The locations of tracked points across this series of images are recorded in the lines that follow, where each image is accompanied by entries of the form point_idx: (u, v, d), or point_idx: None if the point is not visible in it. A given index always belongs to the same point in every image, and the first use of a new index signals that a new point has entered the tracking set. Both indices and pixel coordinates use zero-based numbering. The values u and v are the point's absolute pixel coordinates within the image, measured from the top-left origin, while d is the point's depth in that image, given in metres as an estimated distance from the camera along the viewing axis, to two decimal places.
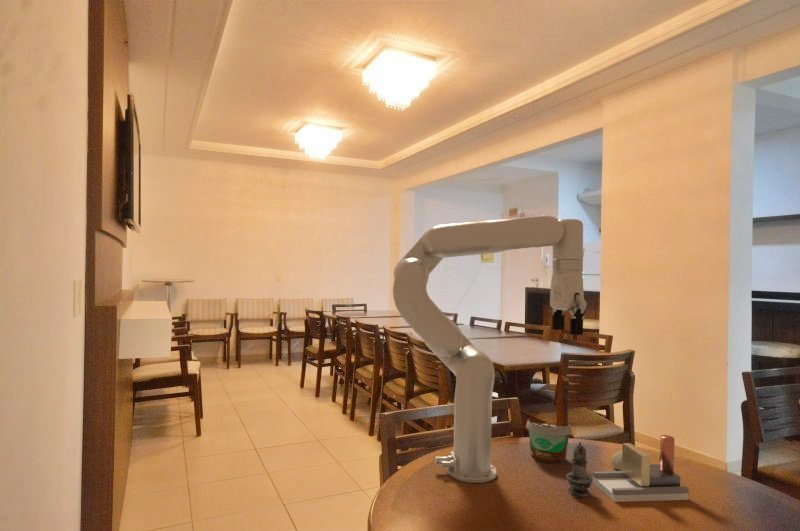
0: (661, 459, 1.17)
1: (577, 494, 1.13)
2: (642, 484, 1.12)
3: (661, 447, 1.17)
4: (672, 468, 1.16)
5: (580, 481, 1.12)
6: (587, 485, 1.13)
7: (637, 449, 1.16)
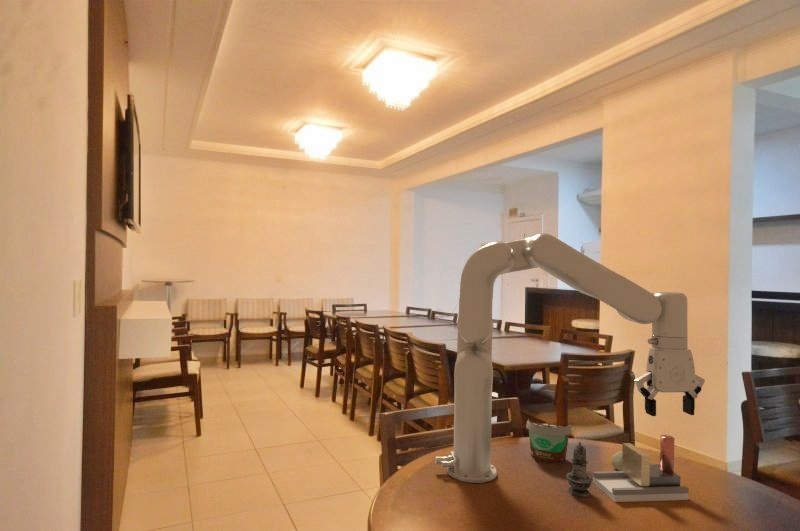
0: (661, 459, 1.17)
1: (577, 494, 1.13)
2: (642, 484, 1.12)
3: (661, 447, 1.17)
4: (672, 468, 1.16)
5: (580, 481, 1.12)
6: (587, 485, 1.13)
7: (637, 449, 1.16)
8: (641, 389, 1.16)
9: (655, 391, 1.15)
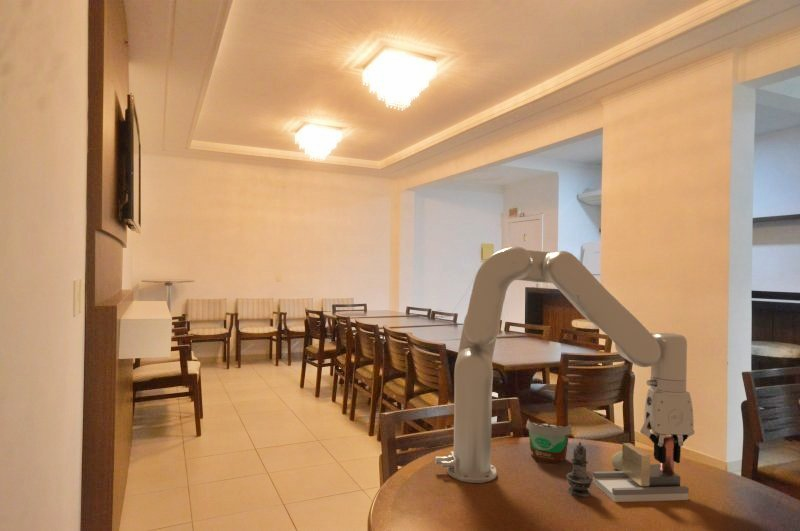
0: None
1: (577, 494, 1.13)
2: (642, 484, 1.12)
3: None
4: (672, 468, 1.16)
5: (580, 481, 1.12)
6: (587, 485, 1.13)
7: (637, 449, 1.16)
8: (650, 437, 1.16)
9: (661, 437, 1.16)
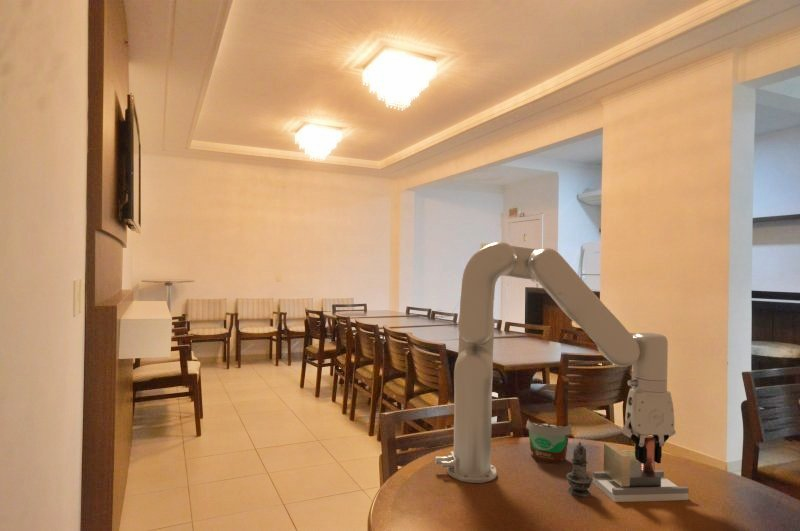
0: None
1: (577, 494, 1.13)
2: (622, 484, 1.12)
3: None
4: (653, 468, 1.15)
5: (580, 481, 1.12)
6: (587, 485, 1.13)
7: (618, 450, 1.15)
8: (631, 437, 1.16)
9: (642, 437, 1.15)
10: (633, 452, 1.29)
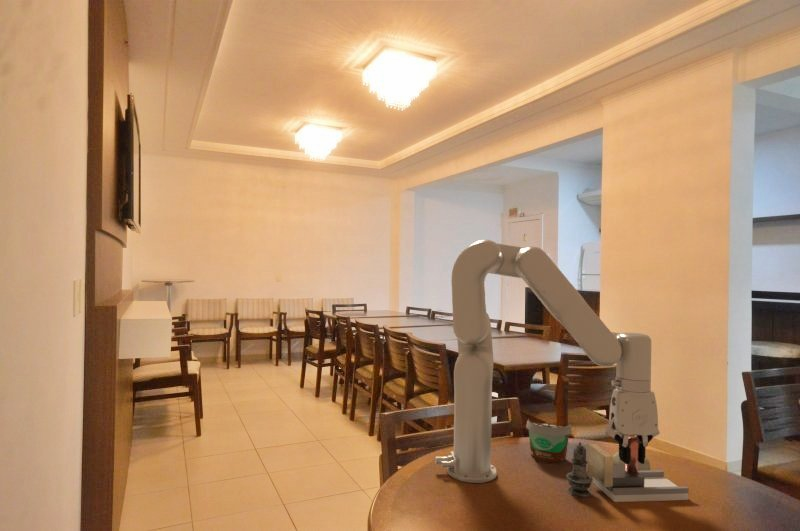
0: None
1: (577, 494, 1.13)
2: (605, 485, 1.11)
3: None
4: (637, 469, 1.15)
5: (580, 481, 1.12)
6: (587, 485, 1.13)
7: (601, 450, 1.15)
8: (615, 438, 1.15)
9: (625, 437, 1.15)
10: None
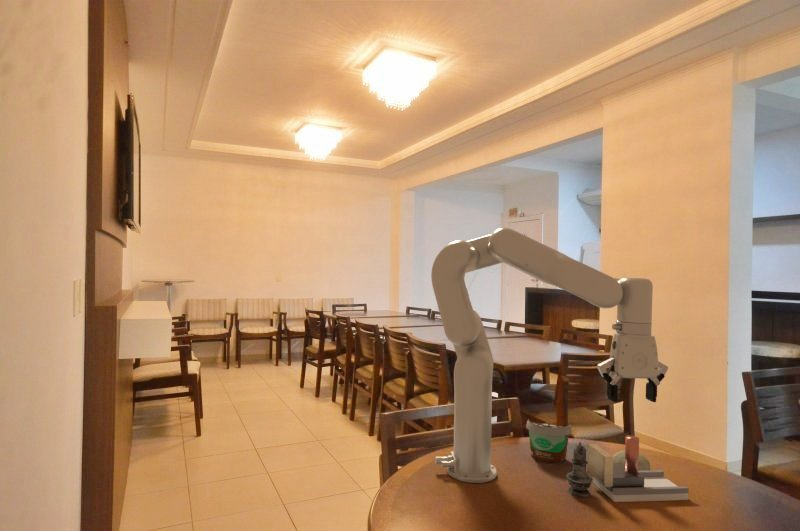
0: (626, 460, 1.16)
1: (577, 494, 1.13)
2: (605, 485, 1.11)
3: (626, 448, 1.16)
4: (636, 469, 1.15)
5: (580, 481, 1.12)
6: (587, 485, 1.13)
7: (601, 450, 1.15)
8: (603, 374, 1.15)
9: (617, 377, 1.15)
10: None
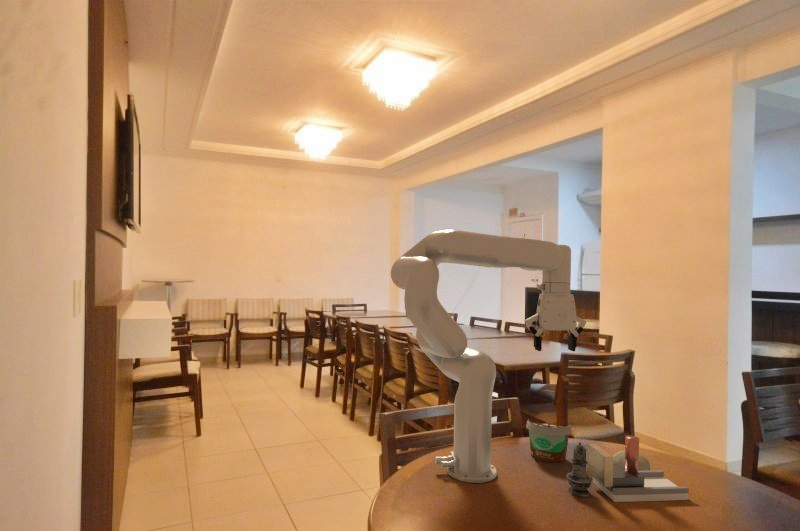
0: (626, 460, 1.16)
1: (577, 494, 1.13)
2: (605, 485, 1.11)
3: (626, 448, 1.16)
4: (636, 469, 1.15)
5: (580, 481, 1.12)
6: (587, 485, 1.13)
7: (601, 450, 1.15)
8: (529, 327, 1.34)
9: (541, 329, 1.33)
10: None
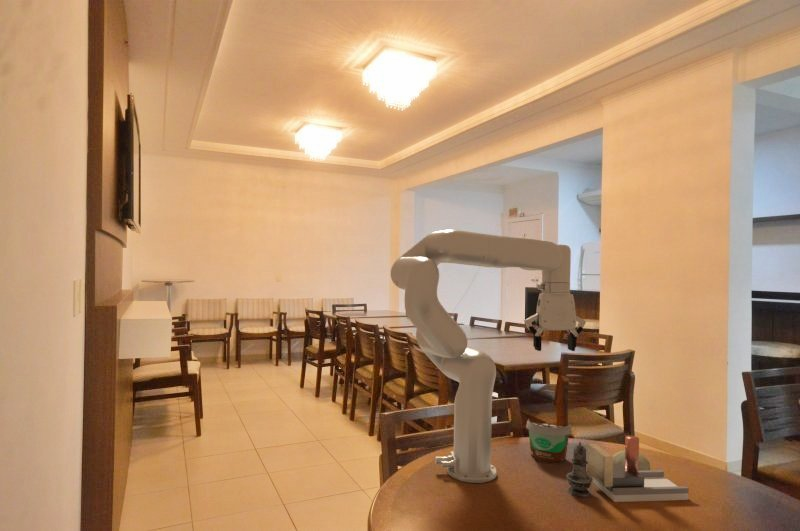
0: (626, 460, 1.16)
1: (577, 494, 1.13)
2: (605, 485, 1.11)
3: (626, 448, 1.16)
4: (636, 469, 1.15)
5: (580, 481, 1.12)
6: (587, 485, 1.13)
7: (601, 450, 1.15)
8: (529, 327, 1.34)
9: (541, 329, 1.33)
10: None
